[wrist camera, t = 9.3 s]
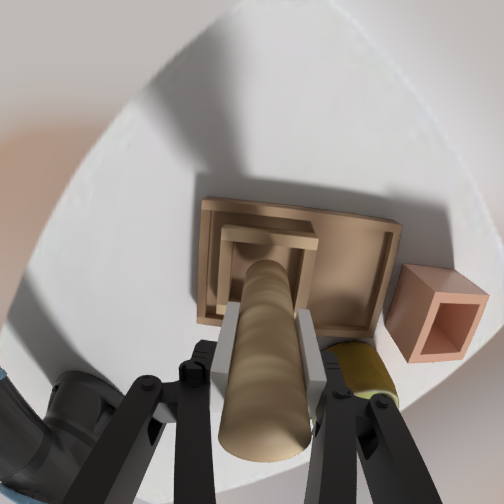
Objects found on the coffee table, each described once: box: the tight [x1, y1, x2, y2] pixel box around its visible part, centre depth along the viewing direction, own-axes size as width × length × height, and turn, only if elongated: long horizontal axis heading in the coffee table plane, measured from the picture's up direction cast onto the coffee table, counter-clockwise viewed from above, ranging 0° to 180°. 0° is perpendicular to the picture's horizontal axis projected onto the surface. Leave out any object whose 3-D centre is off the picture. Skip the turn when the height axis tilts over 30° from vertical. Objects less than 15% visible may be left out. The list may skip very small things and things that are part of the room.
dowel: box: [218, 259, 312, 462], centre depth 17 cm, size 4×4×16 cm
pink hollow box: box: [385, 263, 490, 363], centre depth 25 cm, size 8×8×7 cm
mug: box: [312, 341, 399, 426], centre depth 29 cm, size 12×10×10 cm
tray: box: [197, 197, 403, 338], centre depth 27 cm, size 18×12×3 cm, turn 84°
